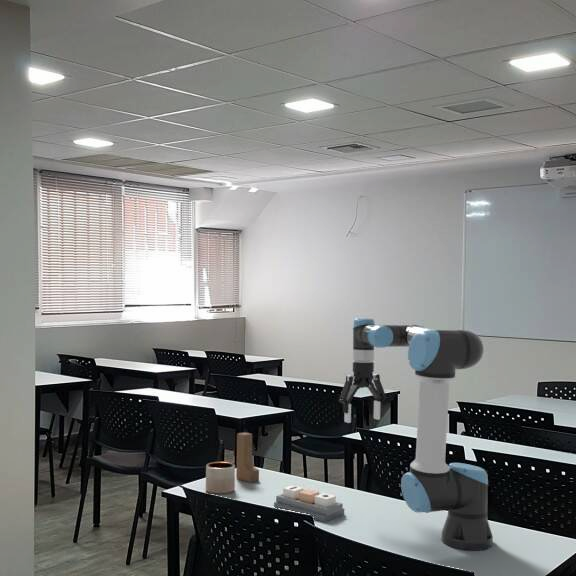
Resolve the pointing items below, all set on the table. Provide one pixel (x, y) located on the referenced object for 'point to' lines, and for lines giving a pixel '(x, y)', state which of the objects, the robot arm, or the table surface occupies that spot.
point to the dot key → (325, 500)
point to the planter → (220, 477)
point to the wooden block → (245, 459)
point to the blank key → (308, 496)
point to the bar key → (292, 492)
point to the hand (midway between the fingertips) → (362, 420)
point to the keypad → (310, 508)
